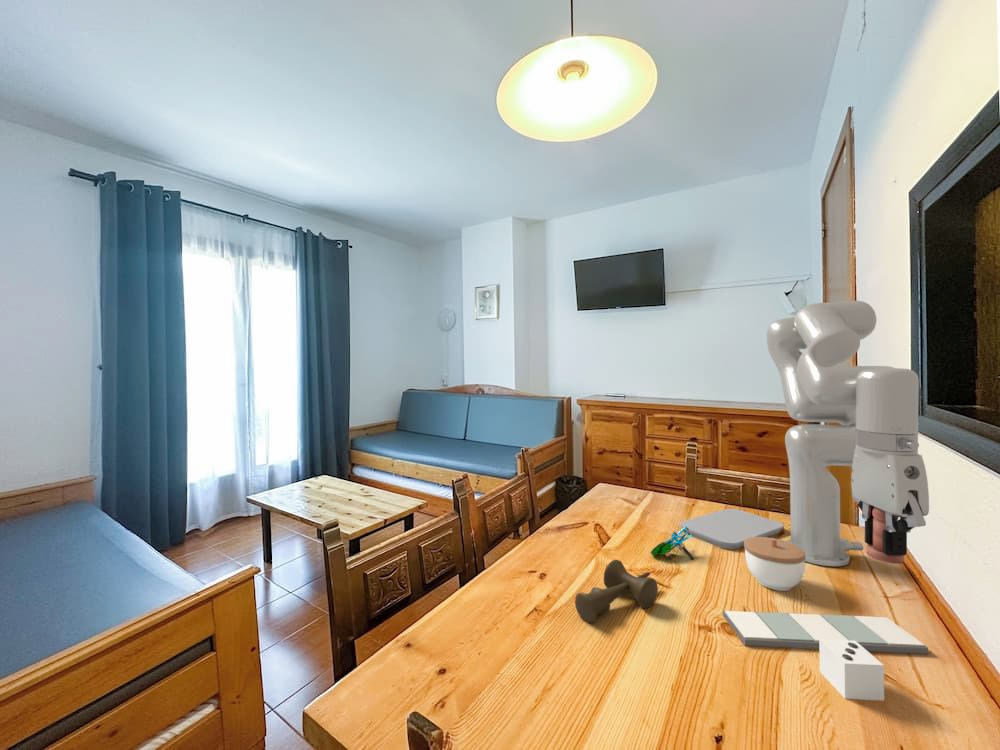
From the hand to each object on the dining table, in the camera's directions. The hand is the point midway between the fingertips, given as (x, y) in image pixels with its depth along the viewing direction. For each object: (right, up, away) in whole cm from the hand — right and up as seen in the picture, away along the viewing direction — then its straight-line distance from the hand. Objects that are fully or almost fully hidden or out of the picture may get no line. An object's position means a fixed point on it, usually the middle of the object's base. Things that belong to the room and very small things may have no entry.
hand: (884, 547), depth 68 cm
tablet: (0, -15, +44) cm, 47 cm away
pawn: (0, -2, 0) cm, 1 cm away
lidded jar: (-7, -15, +17) cm, 24 cm away
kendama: (-42, -16, +11) cm, 46 cm away
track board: (-11, -15, +1) cm, 19 cm away
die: (-15, -15, -10) cm, 24 cm away
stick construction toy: (-23, -15, +30) cm, 40 cm away
